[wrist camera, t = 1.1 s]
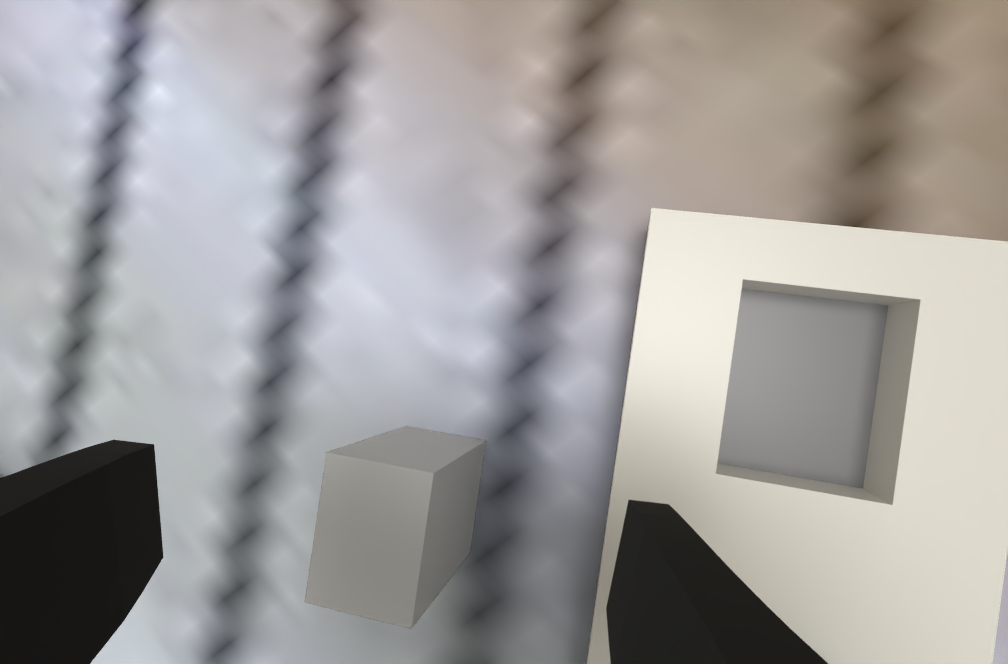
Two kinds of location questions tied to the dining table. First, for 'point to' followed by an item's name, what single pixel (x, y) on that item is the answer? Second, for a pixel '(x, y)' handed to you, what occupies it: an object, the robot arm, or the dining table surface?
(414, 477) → the plug
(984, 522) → the power strip
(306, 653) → the dining table surface
